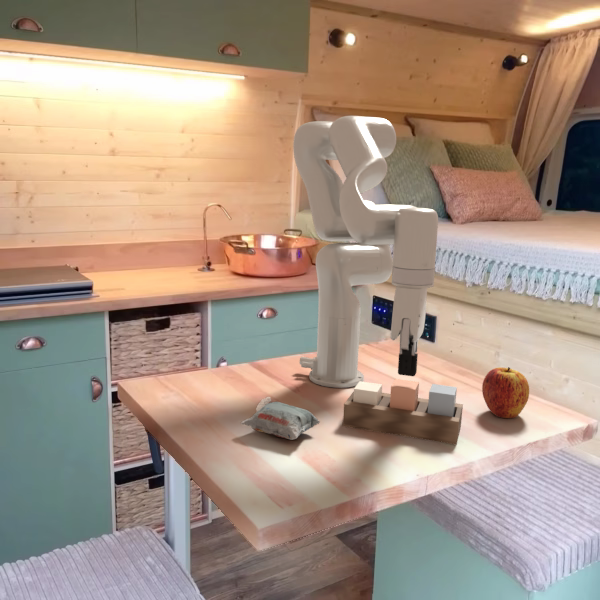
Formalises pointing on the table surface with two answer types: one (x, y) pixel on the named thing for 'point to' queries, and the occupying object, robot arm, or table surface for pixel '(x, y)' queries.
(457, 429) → the frame block
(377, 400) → the key cream
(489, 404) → the apple
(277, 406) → the packaged food
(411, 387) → the key terracotta
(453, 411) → the grey block
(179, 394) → the table surface
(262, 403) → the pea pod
